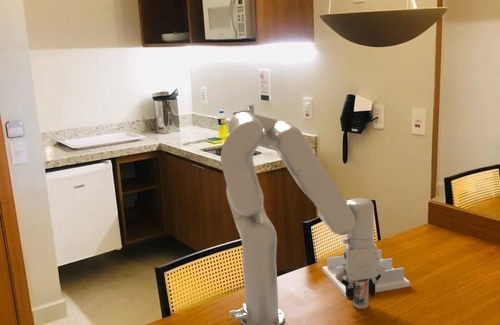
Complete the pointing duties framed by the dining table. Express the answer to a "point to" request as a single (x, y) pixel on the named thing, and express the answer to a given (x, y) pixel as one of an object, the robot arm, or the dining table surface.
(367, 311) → the dining table surface
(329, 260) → the drying rack
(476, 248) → the dining table surface
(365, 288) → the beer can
